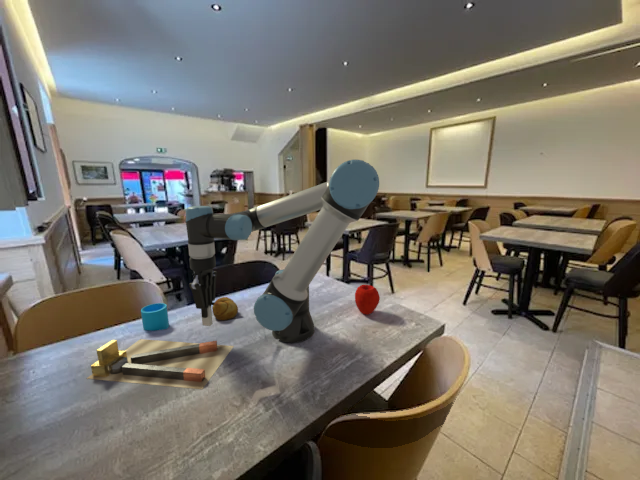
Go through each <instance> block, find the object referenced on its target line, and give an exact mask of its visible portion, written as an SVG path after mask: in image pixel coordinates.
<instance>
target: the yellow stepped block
mask: <svg viewBox="0 0 640 480" xmlns="http://www.w3.org/2000/svg"><path fill="white" fill-rule="evenodd" d="M118 345H119V344H118V340H117V339H112V340H110V341H108V342H106V343H105V344H104V345H102V346H101V347H100V348H99V347H98V349H96V355H97V361H95V362H94V363H92V364H91V365H90V368H91V375H92V374H93V376H100V377H107V376H108V375H109V370H108V366H109V365H110V364H112V363H113V362H114V361H116V360H117V359H118V358H120V357H127V353H126V351H125V350H122V349H119V346H118Z"/></svg>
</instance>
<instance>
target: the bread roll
mask: <svg viewBox="0 0 640 480" xmlns="http://www.w3.org/2000/svg"><path fill="white" fill-rule="evenodd" d="M214 302H215V304H214V305H212V306H211V309H212V315H213V316H214V318H215V319H216V320H218V321H228V320H232V319H233V318H235V317H236V316H237V315H238V312H239V307H238V304H237V303H236V302H235V301H234V300H233V299H231V298H230V297H228V296H224V297H223V296H221V297H220V298H217V299H215V300H214Z"/></svg>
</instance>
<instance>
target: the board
mask: <svg viewBox="0 0 640 480" xmlns="http://www.w3.org/2000/svg"><path fill="white" fill-rule="evenodd" d="M200 343H201V342H200ZM200 343H198V342H195V343H194V342H185V341H170V340H158V339H157V340H156V339H142V338H140V339H139V340H136V342H134V343H133V344H131V345H130V346H129V347H128V348H126V349H125V350H124V351H126V353H127V360H128V363H130V364H131V357H132V355H135V354H141V353H147V352H153V351H159V350H165V349H171V348H177V347H183V346H189V345H195V344H200ZM234 347H235V346H234V345H225V344H217V351H213V352H208V353H202V354H195V355H189V356H184V357H178V358H172V359H167V360H161V361H155V362H150V363H144V364H142V365H154V366H166V367H177V368H196V369H205V379H204V380H203V381H202V382H195V381H184V380H176V379H165V378H154V377H143V376H132V375H123V373H122V372H121V373H118V374H110V373H109V375H108V376H107V377H100V376H93V374H92V373H91V374H90V375H89V376H88V377H86V379H87V380H97V381H108V382H117V383H118V382H119V383H129V384H140V385H151V386H162V387H163V386H164V387H171V388H183V389H194V390H203V389H204V388H205V387H206V385H207V384H208V383H209V381H210V380H211V378H212V377H213V376H214V374H215V373H216V372H217V370H218V368H219V367H221V364H223V362H224V361H225V359H226V358H227V357H228V355H229V353H230V352H231V351H232V350H233V348H234ZM108 370H109V368H108Z"/></svg>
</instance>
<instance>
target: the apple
mask: <svg viewBox="0 0 640 480" xmlns="http://www.w3.org/2000/svg"><path fill="white" fill-rule="evenodd" d="M380 299H381V297H380V294H379V291H378V289H377V288H376V287H375V286H373V285H370V284H361V285H359V286H358V287H357V288H356V290H355V293H354V302H355V305H356V307H357V310H358V311H359V312H360V313H361V314H362V315H367V316H368V315H371V314H372V313H374V311H375V310H376V308H378V305H379V304H380V301H381V300H380Z"/></svg>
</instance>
